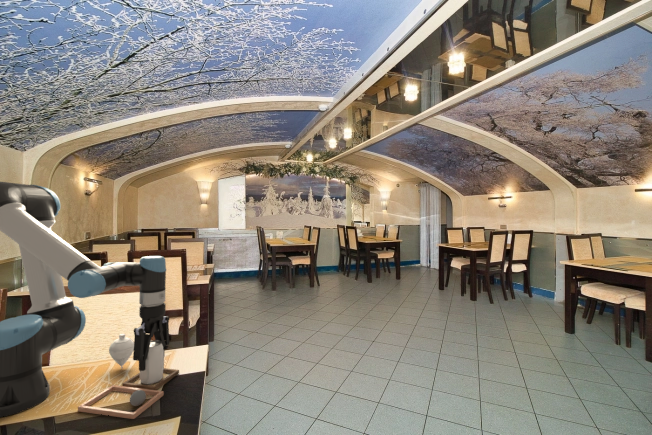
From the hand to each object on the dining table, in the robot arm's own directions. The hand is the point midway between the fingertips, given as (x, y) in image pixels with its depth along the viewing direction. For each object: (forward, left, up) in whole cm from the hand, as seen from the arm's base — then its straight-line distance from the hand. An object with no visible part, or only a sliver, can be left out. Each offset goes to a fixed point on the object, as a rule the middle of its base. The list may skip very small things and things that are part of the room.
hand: (152, 374), depth 105 cm
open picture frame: (+1, -13, -2) cm, 13 cm away
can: (0, 0, -2) cm, 2 cm away
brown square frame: (0, 0, -2) cm, 2 cm away
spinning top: (-16, +5, -2) cm, 17 cm away
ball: (+6, -13, -2) cm, 14 cm away
